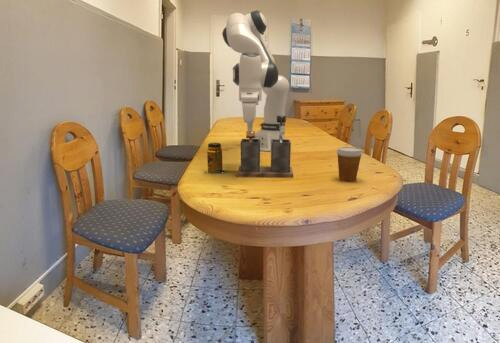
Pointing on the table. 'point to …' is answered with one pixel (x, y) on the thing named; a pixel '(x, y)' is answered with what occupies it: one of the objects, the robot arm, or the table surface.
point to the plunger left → (250, 135)
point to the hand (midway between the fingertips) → (250, 131)
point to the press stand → (278, 159)
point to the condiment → (215, 159)
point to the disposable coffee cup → (348, 163)
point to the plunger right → (281, 125)
